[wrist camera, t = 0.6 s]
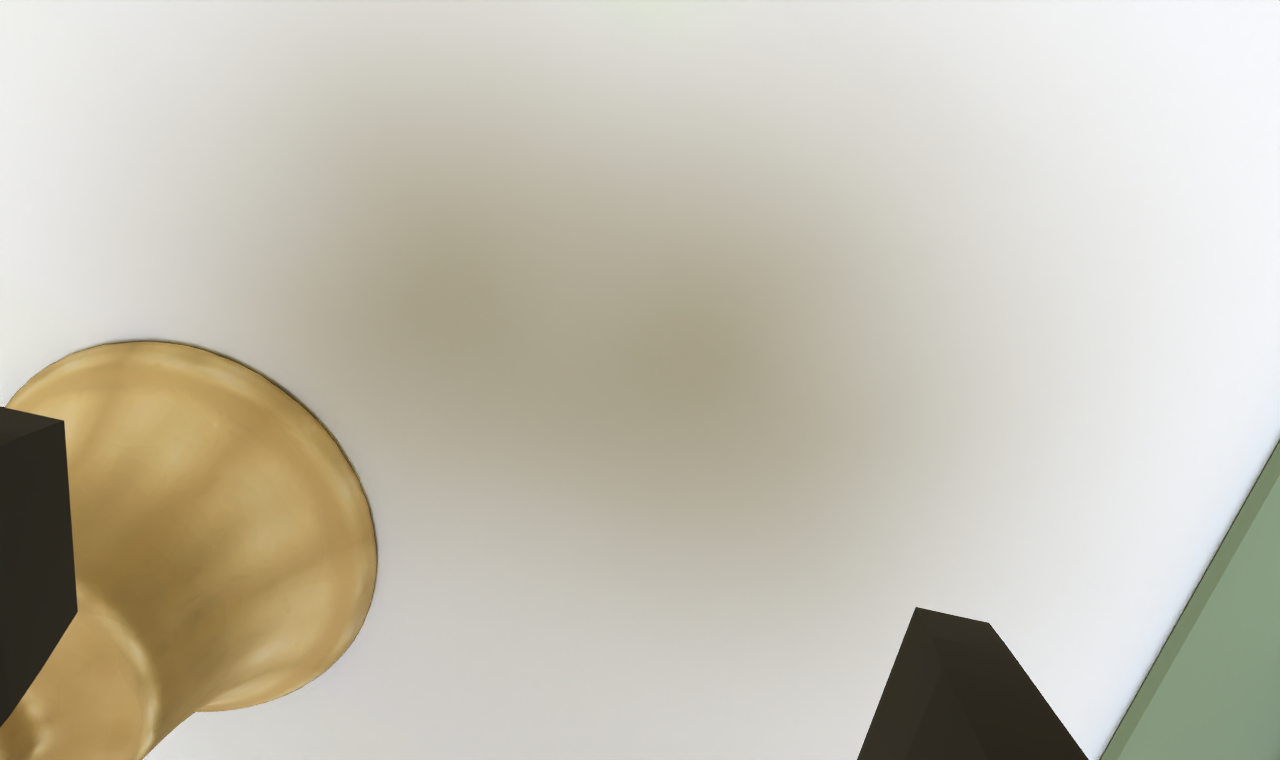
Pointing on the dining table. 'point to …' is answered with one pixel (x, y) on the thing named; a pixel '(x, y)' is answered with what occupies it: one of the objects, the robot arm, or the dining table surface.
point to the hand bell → (189, 549)
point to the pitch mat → (1220, 653)
